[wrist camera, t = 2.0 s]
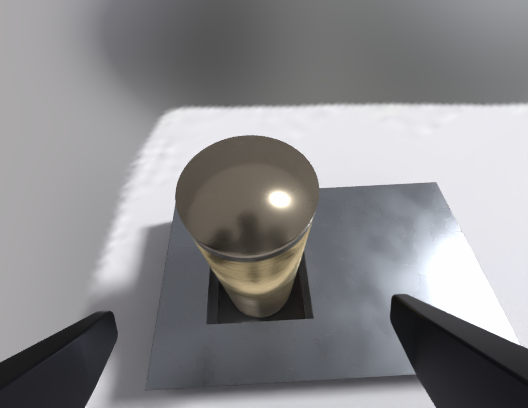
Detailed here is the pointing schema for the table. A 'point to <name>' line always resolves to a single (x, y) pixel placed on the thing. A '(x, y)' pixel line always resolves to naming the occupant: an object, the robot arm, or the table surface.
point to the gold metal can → (250, 216)
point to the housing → (326, 295)
